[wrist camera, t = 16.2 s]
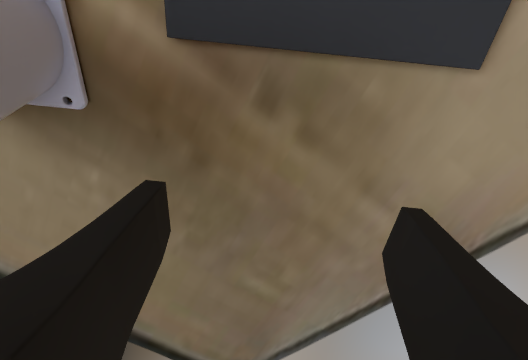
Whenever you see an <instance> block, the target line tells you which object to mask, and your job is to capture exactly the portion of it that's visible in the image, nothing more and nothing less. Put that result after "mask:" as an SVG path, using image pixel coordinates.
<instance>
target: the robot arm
mask: <svg viewBox="0 0 528 360" xmlns="http://www.w3.org/2000/svg"><path fill="white" fill-rule="evenodd" d="M66 96H67V97H69V98H70V99H71V100H72V102H69V101H68V100H67V98H66ZM26 104H29V105H39V106H49V107H58V108H68V109H78V110H79V109H83V108H85V107H86V106H87V104H88V99H87V94H86V90H85V86H84V82H83V77H82V73H81V69H80V64H79V60H78V56H77V52H76V47H75V43H74V39H73V34H72V30H71V26H70V22H69V17H68V13H67V9H66V4H65V0H0V121H1V120H2V119H4V118H5V117H7V116H8V115H10V114H12V113H13V112H15V111H16V110H18V109H19V108H21V107H22V106H24V105H26ZM170 232H171V229H170V219H169V210H168V200H167V191H166V182H159V181H150V180H145V181H144V182H142V183H141V184H140V185H139V186H137V187H136V188H135V189H133V190H132V191H131V192H130V193H128V194H127V195H126V196H125V197H123V198H122V199H121V200H120V201H118V202H117V203H116V204H115V205H113V206H112V207H111V208H110V209H108V210H107V211H106V212H104V213H103V214H102V215H100V216H99V217H98V218H96V219H95V220H94V221H92V222H91V223H90V224H88V225H87V226H86V227H84V228H83V229H81V230H80V231H78V232H77V233H75V234H74V235H73V236H71V237H70V238H68V239H67V240H65V241H64V242H63V243H61V244H60V245H58V246H57V247H55V248H54V249H52V250H50V251H49V252H47V253H46V254H44V255H42V256H41V257H39V258H37V259H36V260H34V261H32V262H31V263H29V264H27V265H26V266H24V267H22V268H20V269H19V270H17V271H15V272H13V273H12V274H10V275H8V276H6V277H4V278H2V279H0V360H121V359H122V356H123V353H124V350H125V347H126V344H127V341H128V339H129V336H130V334H131V331H132V328H133V326H134V324H135V321H136V319H137V317H138V315H139V312H140V310H141V308H142V306H143V303H144V301H145V299H146V296H147V294H148V292H149V290H150V287H151V285H152V283H153V280H154V278H155V276H156V274H157V271H158V269H159V267H160V264H161V262H162V259H163V256H164V253H165V249H166V246H167V242H168V239H169V235H170ZM382 256H383V263H384V270H385V275H386V281H387V286H388V289H389V293H390V296H391V299H392V303H393V306H394V309H395V313H396V316H397V319H398V323H399V326H400V329H401V333H402V336H403V339H404V342H405V346H406V349H407V352H408V356H409V359H410V360H528V305H527V304H526V303H525V302H523V301H522V300H521V299H520V298H519V297H517V296H516V295H515V294H514V293H513V292H512V291H510V290H509V289H508V288H507V287H506V286H505V285H503V284H502V283H501V282H500V281H499V280H498V279H496V278H495V277H494V276H493V275H492V274H491V273H490V272H489V271H487V270H486V269H485V268H484V267H483V266H482V265H481V264H480V263H479V262H478V261H477V260H475V259H474V258H473V257H472V256H471V255H470V254H469V253H468V252H467V251H466V250H465V249H464V248H463V247H462V246H461V245H460V244H459V243H458V242H456V241H455V240H454V239H453V238H452V237H451V236H450V235H449V234H448V233H447V232H446V231H445V230H444V229H443V228H442V227H441V226H440V225H439V224H438V223H437V222H436V221H435V220H434V219H433V218H432V217H430V216H429V215H428V214H427V213H426V212H425V211H424V210H423V209H417V208H408V207H402V208H401V210H400V213H399V215H398V217H397V219H396V222H395V224H394V226H393V229H392V231H391V233H390V236H389V238H388V240H387V243H386V245H385V247H384V250H383V252H382Z"/></svg>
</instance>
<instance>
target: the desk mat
mask: <svg viewBox="0 0 528 360" xmlns="http://www.w3.org/2000/svg"><path fill="white" fill-rule="evenodd" d="M511 1H512V0H164V2H165V14H166V27H167V37H169V38H179V39H188V40H198V41H208V42H217V43H227V44H236V45H246V46H256V47H265V48H275V49H284V50H294V51H304V52H313V53H323V54H332V55H342V56H352V57H361V58H371V59H380V60H390V61H400V62H409V63H419V64H428V65H438V66H448V67H457V68H467V69H476V70H479V69H480V68H481V65H482V63H483V61H484V59H485V57H486V55H487V52H488V50H489V48H490V46H491V44H492V42H493V39H494V37H495V35H496V33H497V31H498V29H499V26H500V24H501V22H502V20H503V18H504V16H505V14H506V11H507V9H508V7H509V5H510V3H511Z"/></svg>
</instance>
